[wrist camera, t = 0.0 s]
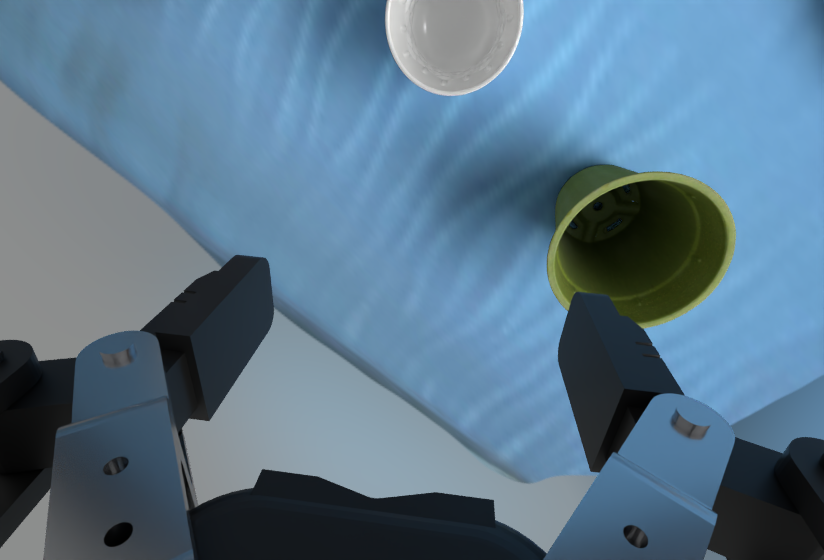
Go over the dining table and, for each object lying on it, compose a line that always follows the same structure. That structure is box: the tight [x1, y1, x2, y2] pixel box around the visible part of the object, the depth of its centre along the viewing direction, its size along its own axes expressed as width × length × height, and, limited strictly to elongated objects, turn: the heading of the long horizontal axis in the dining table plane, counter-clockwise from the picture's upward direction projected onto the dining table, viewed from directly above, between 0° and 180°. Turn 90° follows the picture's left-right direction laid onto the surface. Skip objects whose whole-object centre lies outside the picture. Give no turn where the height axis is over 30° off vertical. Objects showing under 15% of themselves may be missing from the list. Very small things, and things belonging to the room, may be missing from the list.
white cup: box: [385, 0, 523, 96], centre depth 29 cm, size 8×8×10 cm
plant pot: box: [547, 165, 736, 329], centre depth 34 cm, size 12×12×11 cm
